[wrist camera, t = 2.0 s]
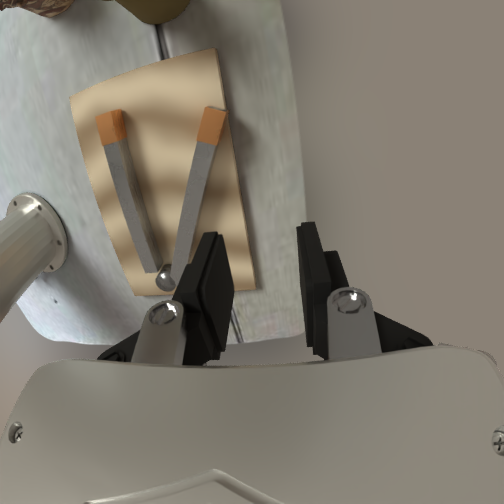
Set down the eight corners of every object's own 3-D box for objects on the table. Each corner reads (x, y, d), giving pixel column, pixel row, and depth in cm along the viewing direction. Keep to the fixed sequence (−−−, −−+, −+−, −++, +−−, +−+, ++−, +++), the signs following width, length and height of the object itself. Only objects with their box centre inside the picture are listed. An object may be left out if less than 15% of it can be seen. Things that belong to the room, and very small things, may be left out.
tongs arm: (185, 285, 33) (181, 296, 32) (159, 277, 33) (154, 288, 31) (229, 110, 23) (226, 112, 21) (194, 101, 22) (187, 103, 21)
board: (256, 282, 34) (255, 289, 33) (137, 290, 36) (134, 295, 35) (216, 49, 21) (214, 47, 20) (75, 95, 23) (69, 97, 22)
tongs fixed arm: (164, 261, 32) (158, 272, 30) (150, 263, 32) (144, 273, 30) (121, 108, 23) (110, 111, 21) (106, 113, 23) (95, 116, 21)
